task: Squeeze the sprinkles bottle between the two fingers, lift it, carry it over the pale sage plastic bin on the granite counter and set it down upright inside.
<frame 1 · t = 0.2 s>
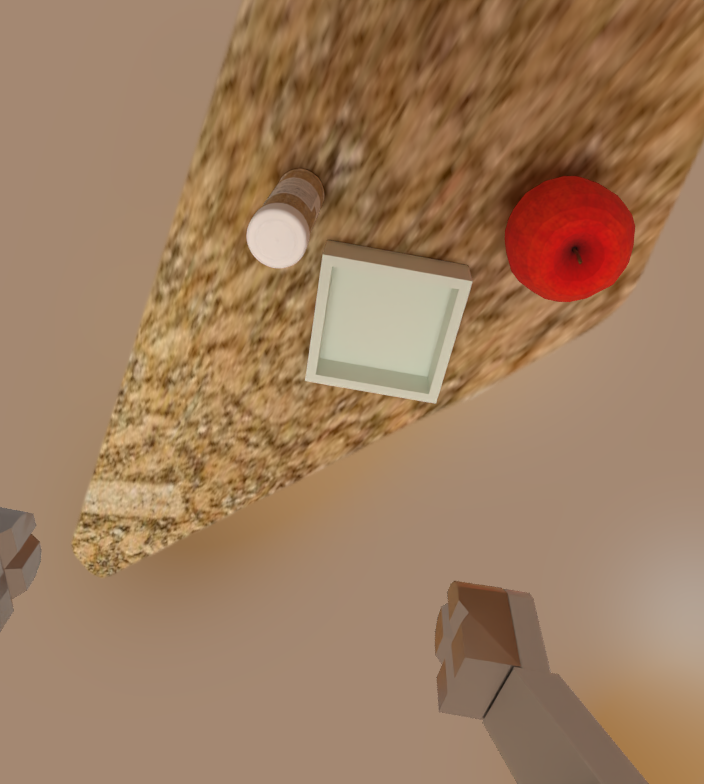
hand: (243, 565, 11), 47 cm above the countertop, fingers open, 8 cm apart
sprinkles bottle: (301, 191, 54), on the countertop
apple: (548, 215, 53), on the countertop
bin: (384, 316, 60), on the countertop
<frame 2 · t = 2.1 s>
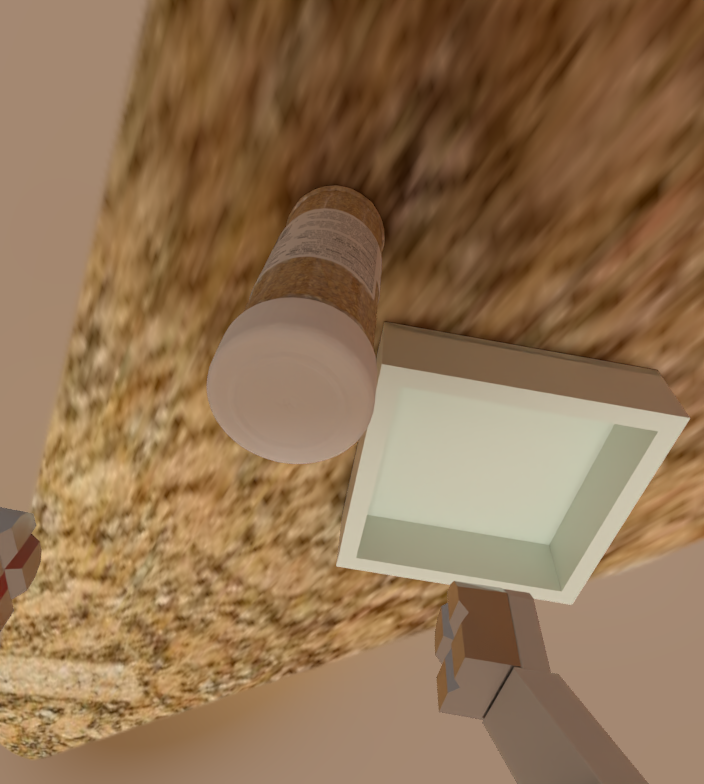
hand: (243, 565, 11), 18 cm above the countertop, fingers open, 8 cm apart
sprinkles bottle: (336, 231, 26), on the countertop
bin: (481, 450, 33), on the countertop
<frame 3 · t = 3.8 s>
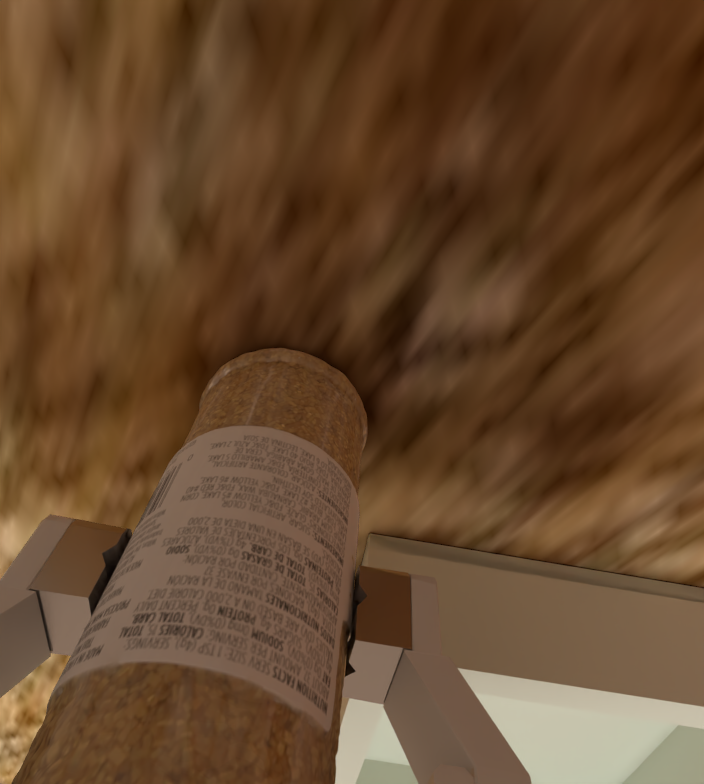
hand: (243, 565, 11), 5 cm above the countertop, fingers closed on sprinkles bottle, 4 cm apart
sprinkles bottle: (287, 409, 16), on the countertop, touching gripper
bin: (517, 687, 22), on the countertop
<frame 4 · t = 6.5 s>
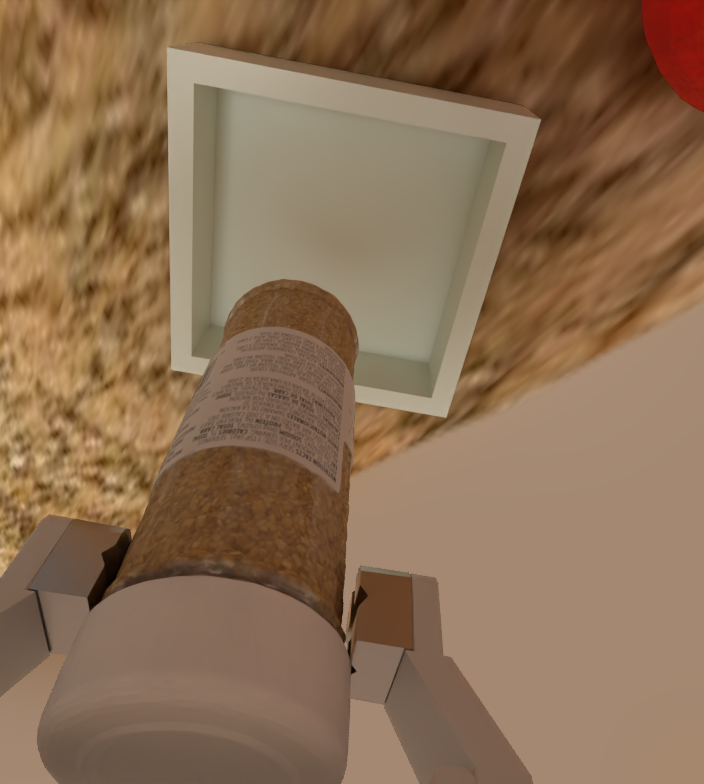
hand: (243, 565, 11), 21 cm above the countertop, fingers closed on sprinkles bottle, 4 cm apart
sprinkles bottle: (293, 333, 20), point 11 cm above the countertop, touching gripper
bin: (337, 233, 28), on the countertop
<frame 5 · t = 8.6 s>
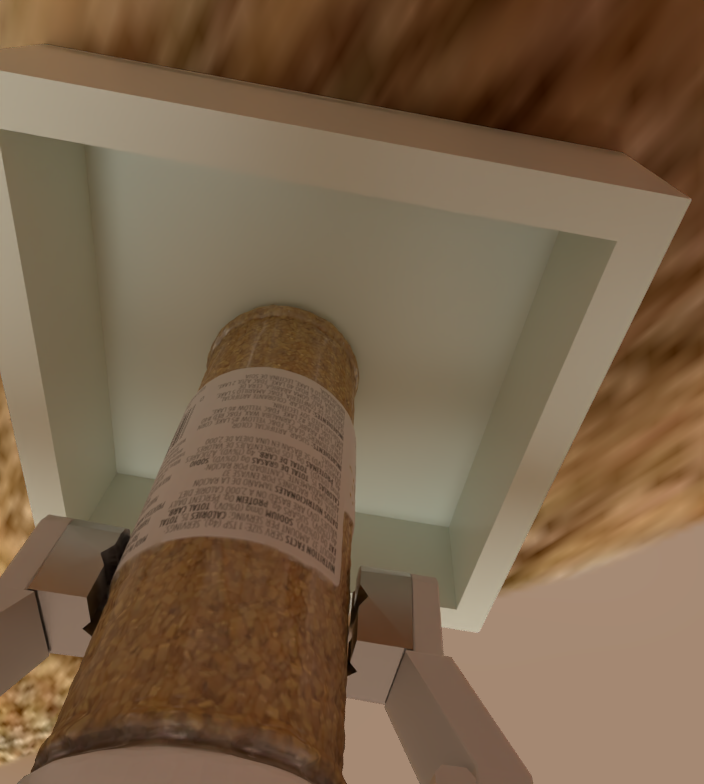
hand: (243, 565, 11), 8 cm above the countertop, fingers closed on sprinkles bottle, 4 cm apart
sprinkles bottle: (285, 363, 17), point 1 cm above the countertop, touching bin, gripper
bin: (305, 349, 18), on the countertop
when the fingers open (7 cm above the countertop, at t = 9.3 s): sprinkles bottle stays where it is, resting on bin.
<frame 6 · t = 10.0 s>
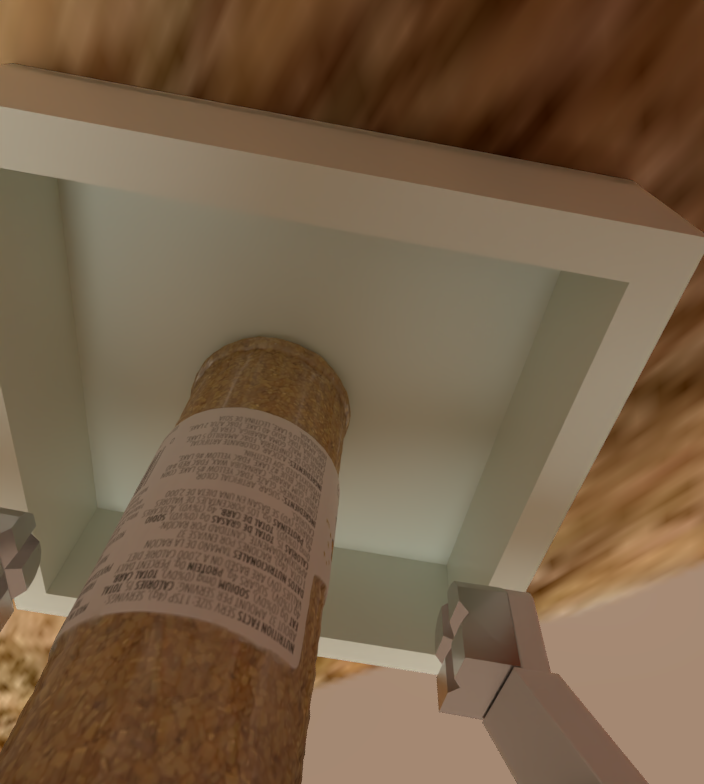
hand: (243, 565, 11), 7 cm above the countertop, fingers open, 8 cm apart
sprinkles bottle: (274, 395, 17), resting on bin
bin: (295, 381, 17), on the countertop
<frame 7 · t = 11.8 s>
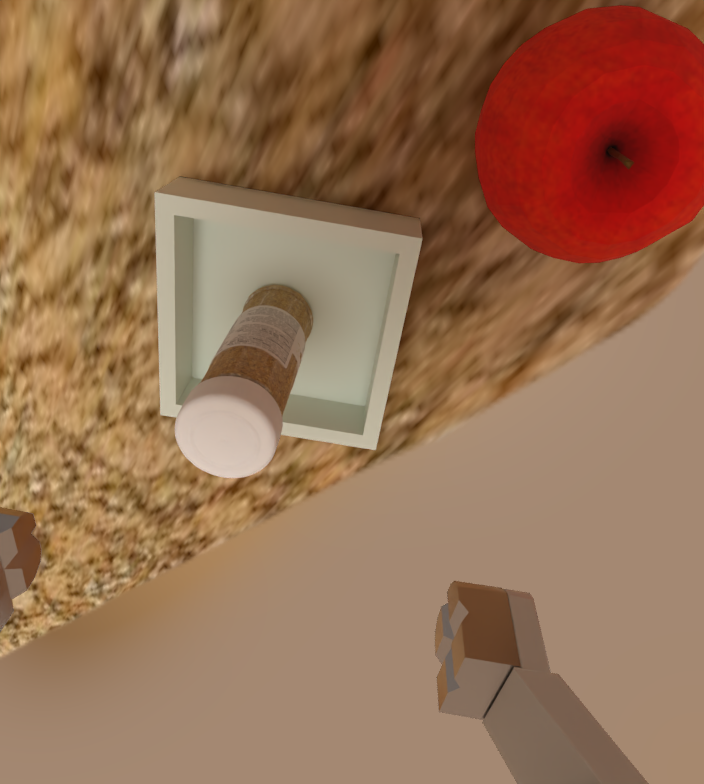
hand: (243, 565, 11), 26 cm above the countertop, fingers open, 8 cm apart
sprinkles bottle: (279, 314, 37), resting on bin
apple: (555, 123, 30), on the countertop
bin: (288, 308, 37), on the countertop
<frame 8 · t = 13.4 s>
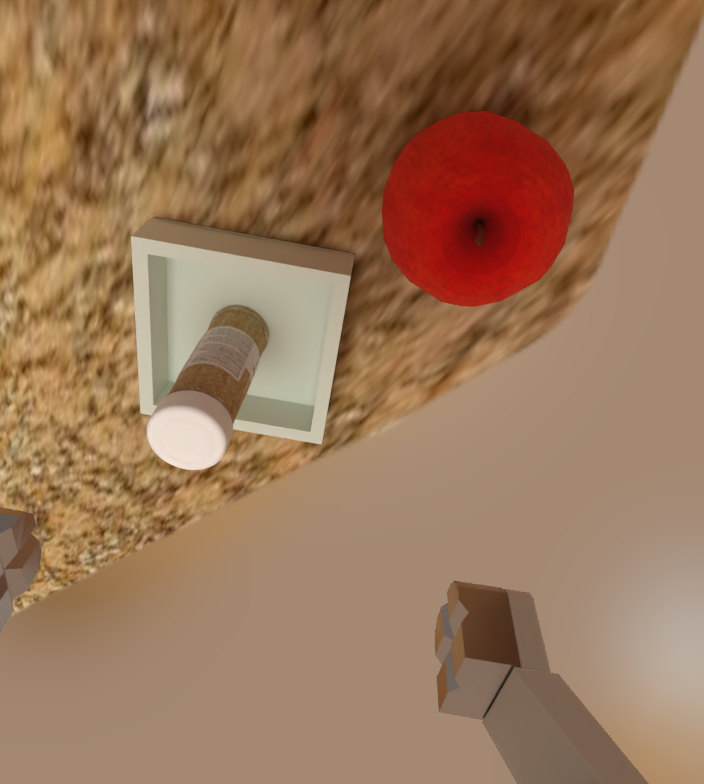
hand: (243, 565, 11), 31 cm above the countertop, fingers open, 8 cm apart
sprinkles bottle: (240, 329, 43), resting on bin
apple: (462, 180, 37), on the countertop
bin: (248, 324, 44), on the countertop
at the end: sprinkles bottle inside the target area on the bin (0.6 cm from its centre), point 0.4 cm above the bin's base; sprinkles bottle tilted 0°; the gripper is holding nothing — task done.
